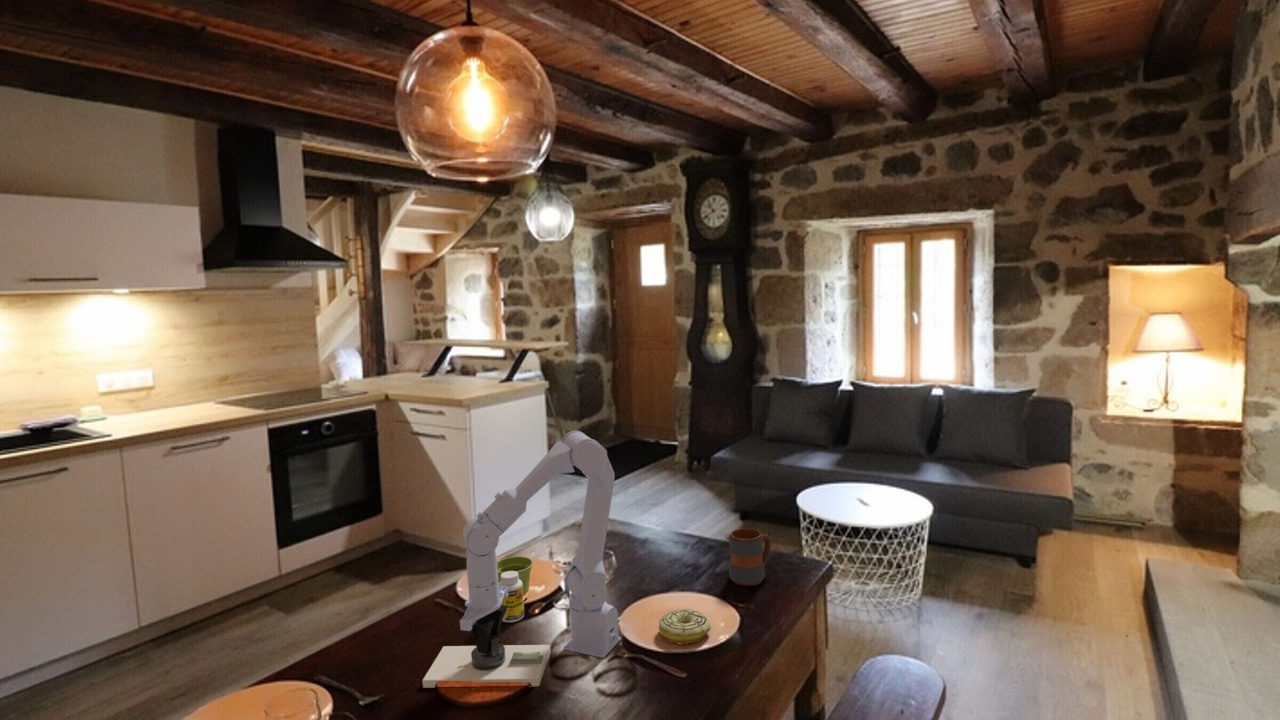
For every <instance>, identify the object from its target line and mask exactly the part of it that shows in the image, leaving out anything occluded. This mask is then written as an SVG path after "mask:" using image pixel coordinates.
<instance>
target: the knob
mask: <svg viewBox="0 0 1280 720" xmlns="http://www.w3.org/2000/svg"><path fill="white" fill-rule="evenodd" d="M499 637H500V636H499ZM499 637H497V636H496V635H494V634H492V633H491V636H490V646H489V653H487V654H486V653H479V652H478V649H477V647H476V648H474V649H473V651H472V653H471V657H472V666H473V667H474V668H476V669H479V670H490V669H494V668H496V667H499V666H500V665H502V664H503V663H504V661H505V647H504V646H503V645H504V644H502V643H500V639H499Z"/></svg>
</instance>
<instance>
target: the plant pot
mask: <svg viewBox="0 0 1280 720" xmlns="http://www.w3.org/2000/svg"><path fill="white" fill-rule="evenodd" d="M533 565H534V560H533V559H532V558H531V557H527V556H523V555H522V556H521V555H519V556H517V555H516V556H508V557H505V558H502V559H500V560H497V568H498V582H499V583H500V582H501V574H502V573H504V572H507V571H516V572H518V575H519V580H521V581H522V583H523V596H524V595H525V594H526V593H527V592H528V591H529V592H530V580H531V579H530V577H531V571H532V566H533Z"/></svg>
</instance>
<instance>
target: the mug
mask: <svg viewBox="0 0 1280 720" xmlns="http://www.w3.org/2000/svg"><path fill="white" fill-rule="evenodd" d="M763 541H764V547H763ZM771 545H772V541H771V538H770V536H769V535H768V534H766V533H763V534H762V533H761V532H760V531H759V530H757V529H753V528H738V529H734V530H732V531H731V532H730V533H729V552H730V560H729V564H728V565H729V566H728V567H729V569H728V571H729V572H728V574H729V578H730V579H731V581H732V583H734V584H736V585H738V586H743V587H753V586H754V587H755V586H758V585H760V584H761V583H762V582H763V580H764V579H765V575H766V574H765V573H766V572H765V566H766V564H767V563H768V561H769V558H770V555H771V554H770V553H771V547H772V546H771Z"/></svg>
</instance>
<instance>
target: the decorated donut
mask: <svg viewBox="0 0 1280 720" xmlns="http://www.w3.org/2000/svg"><path fill="white" fill-rule="evenodd" d="M658 628H659V629H658V630H659V632H660V634H661V636H662V637H663V638H665V639H666V640H667V641H668V640H669V642H670V641H672V642H675V643H674V644H676V643H681V644H680V645H683V644H684V645H687V644H686V643H690V644H695V643H694V642H696V643H698V642H700V641H702V640H703V639H704V638H705V636H706V635H707V634H708V633H709V632H710V631H711V629H712V624H711V621H710V619H709V618H708V616H707V615H705V613H703V612H700V611H699V610H697V609H694V608H693V609H689V608H688V609H685V608H684V609H676V610H673V611H669V612H667V613H665V614H663V615H662V616H661V617H660V618H659V621H658ZM697 641H698V642H697ZM672 642H671V643H672Z"/></svg>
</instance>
